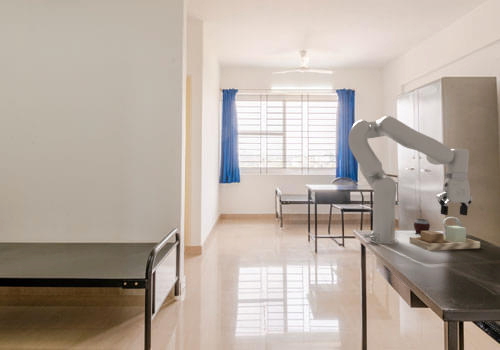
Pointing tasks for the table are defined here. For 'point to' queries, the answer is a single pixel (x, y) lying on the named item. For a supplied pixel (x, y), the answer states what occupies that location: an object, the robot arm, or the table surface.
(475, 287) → the table surface
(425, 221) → the mate gourd
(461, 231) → the sage block
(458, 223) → the watch
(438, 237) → the walnut block
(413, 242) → the slot tray
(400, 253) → the table surface
